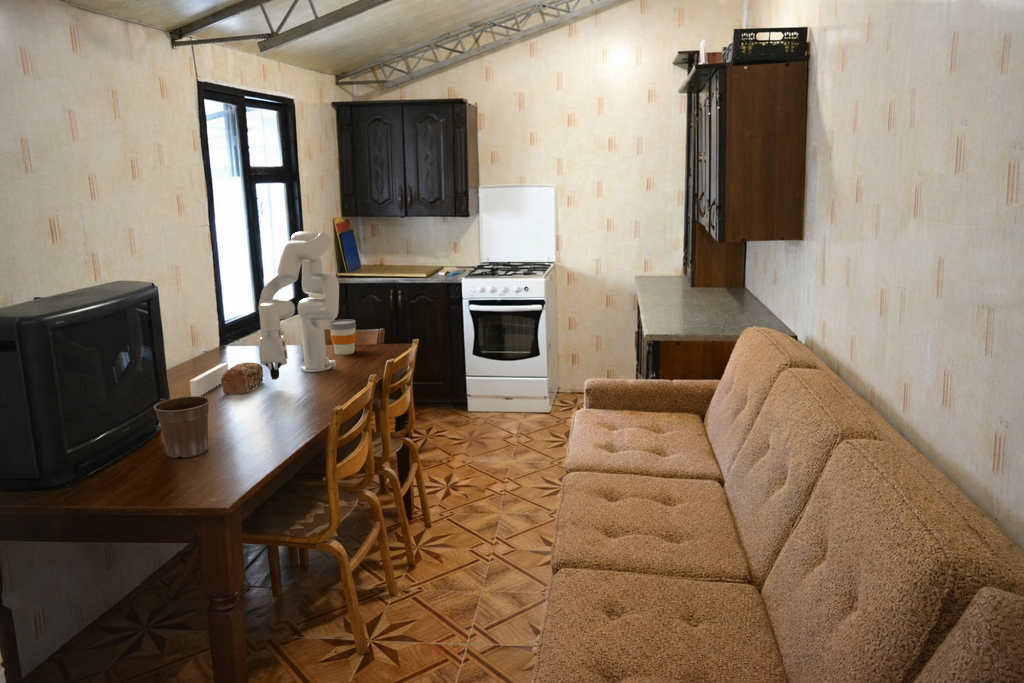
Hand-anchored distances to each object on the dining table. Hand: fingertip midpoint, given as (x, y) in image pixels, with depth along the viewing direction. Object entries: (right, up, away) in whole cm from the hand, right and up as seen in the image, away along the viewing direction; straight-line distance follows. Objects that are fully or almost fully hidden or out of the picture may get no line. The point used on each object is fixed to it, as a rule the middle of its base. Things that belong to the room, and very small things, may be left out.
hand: (275, 378), depth 326 cm
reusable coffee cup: (+15, +9, +62) cm, 65 cm away
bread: (-14, -4, +3) cm, 15 cm away
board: (-27, -4, +4) cm, 28 cm away
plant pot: (-7, -20, -71) cm, 74 cm away
